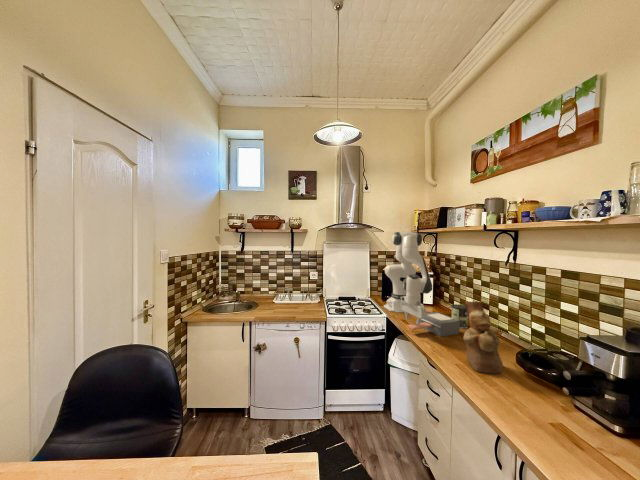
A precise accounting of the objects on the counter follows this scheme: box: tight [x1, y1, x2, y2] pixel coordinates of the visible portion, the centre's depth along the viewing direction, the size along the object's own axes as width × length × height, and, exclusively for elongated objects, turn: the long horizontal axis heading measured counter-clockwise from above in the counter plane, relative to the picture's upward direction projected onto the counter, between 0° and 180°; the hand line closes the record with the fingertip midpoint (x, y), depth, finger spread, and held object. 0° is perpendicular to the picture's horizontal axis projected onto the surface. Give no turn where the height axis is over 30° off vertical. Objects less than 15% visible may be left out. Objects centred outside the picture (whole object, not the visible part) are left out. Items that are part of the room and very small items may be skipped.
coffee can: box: [450, 303, 469, 330], centre depth 176 cm, size 10×10×14 cm
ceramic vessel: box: [463, 301, 504, 374], centre depth 124 cm, size 16×22×30 cm
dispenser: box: [420, 311, 461, 338], centre depth 168 cm, size 19×17×9 cm
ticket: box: [406, 322, 433, 330], centre depth 164 cm, size 6×20×1 cm, turn 110°
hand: (412, 321), depth 161 cm, fingers open, 8 cm apart
